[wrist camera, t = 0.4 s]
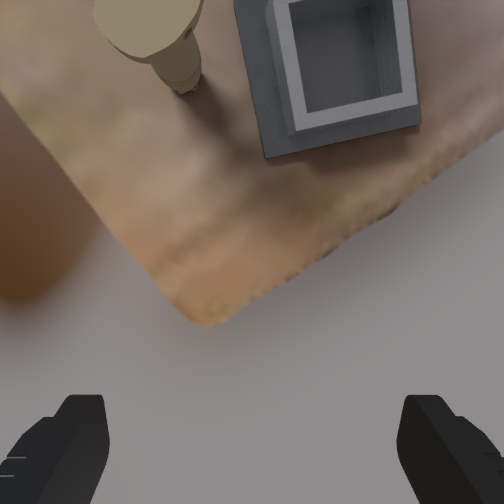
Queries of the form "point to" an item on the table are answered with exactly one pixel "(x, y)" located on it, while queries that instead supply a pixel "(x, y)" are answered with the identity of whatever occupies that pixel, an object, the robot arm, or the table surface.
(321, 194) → the table surface
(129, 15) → the handle
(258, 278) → the table surface
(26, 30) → the table surface
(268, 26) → the socket
